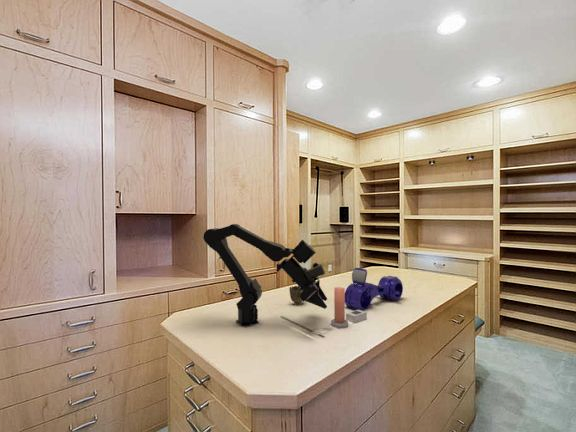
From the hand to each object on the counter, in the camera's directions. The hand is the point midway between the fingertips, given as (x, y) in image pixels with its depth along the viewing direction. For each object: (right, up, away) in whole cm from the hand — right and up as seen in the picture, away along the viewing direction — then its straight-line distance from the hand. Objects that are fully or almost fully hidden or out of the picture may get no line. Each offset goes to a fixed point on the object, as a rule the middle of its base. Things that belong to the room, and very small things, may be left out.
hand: (326, 303), depth 104 cm
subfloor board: (+1, -8, +6) cm, 10 cm away
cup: (-9, -8, +25) cm, 28 cm away
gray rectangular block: (+12, -7, +5) cm, 15 cm away
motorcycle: (+26, -9, +27) cm, 38 cm away
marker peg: (+5, -7, -1) cm, 9 cm away
